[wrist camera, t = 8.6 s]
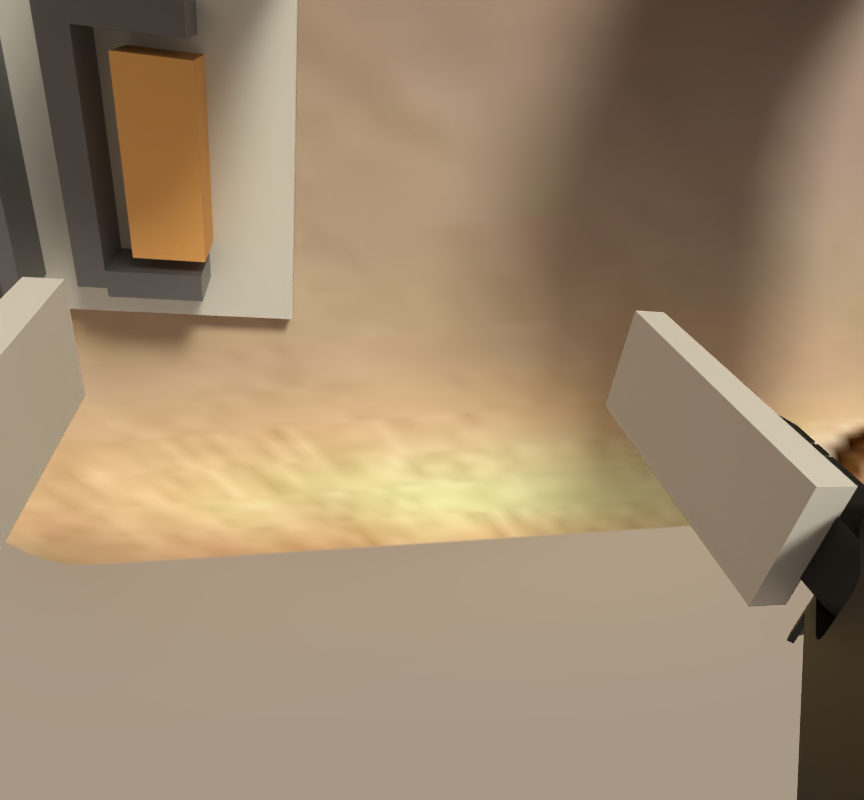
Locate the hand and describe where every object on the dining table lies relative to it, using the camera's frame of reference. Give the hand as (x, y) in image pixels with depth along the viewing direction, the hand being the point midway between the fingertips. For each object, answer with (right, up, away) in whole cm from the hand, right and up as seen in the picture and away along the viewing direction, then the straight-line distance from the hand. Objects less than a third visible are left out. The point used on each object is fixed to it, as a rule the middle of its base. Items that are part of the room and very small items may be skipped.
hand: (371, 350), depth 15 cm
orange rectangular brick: (-10, +10, +14) cm, 20 cm away
